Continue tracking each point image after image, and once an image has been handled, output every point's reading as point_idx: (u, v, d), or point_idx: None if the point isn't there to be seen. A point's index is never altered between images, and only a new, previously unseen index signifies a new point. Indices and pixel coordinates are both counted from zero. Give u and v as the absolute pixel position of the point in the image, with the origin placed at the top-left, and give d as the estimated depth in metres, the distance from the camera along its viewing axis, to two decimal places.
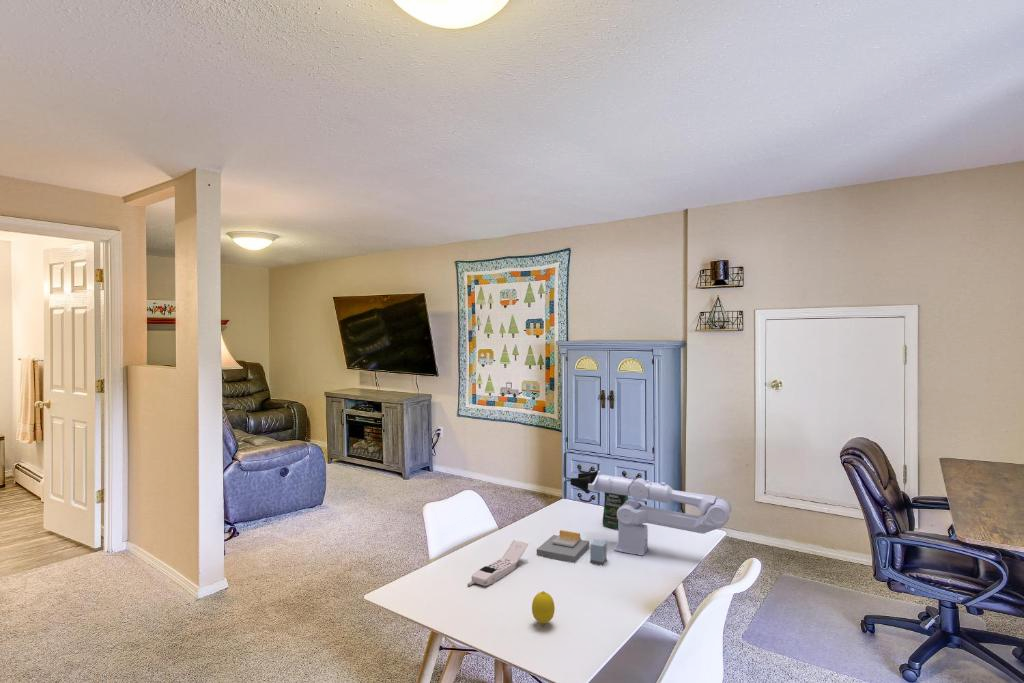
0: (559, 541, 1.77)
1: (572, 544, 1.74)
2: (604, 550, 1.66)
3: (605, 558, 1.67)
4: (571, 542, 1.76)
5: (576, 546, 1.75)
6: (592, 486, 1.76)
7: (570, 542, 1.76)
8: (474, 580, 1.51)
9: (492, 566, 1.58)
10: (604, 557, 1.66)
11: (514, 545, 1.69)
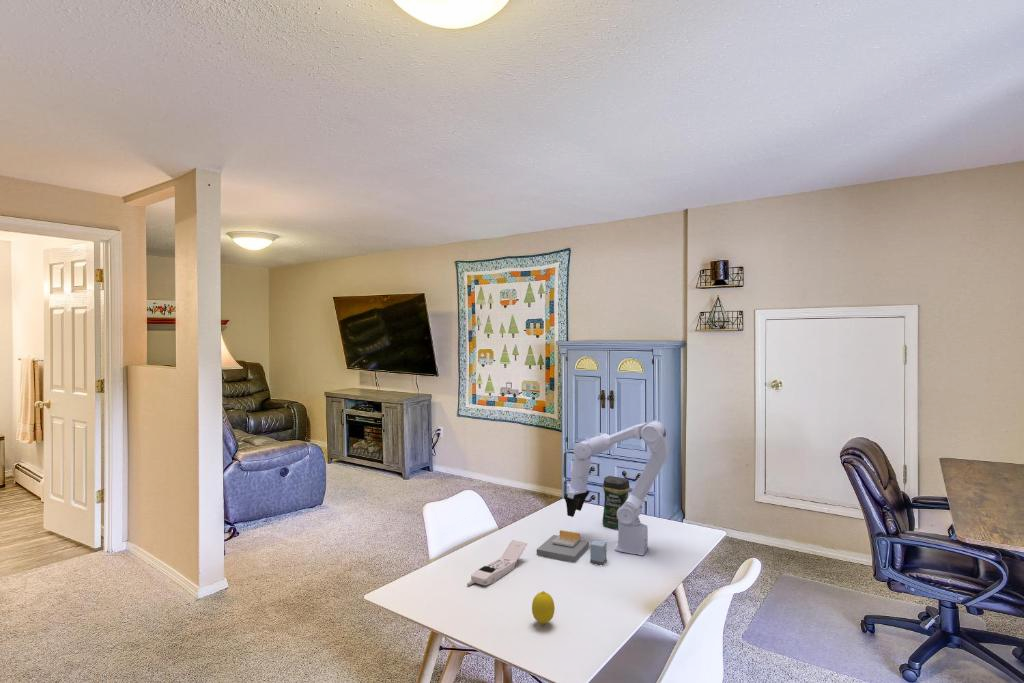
0: (559, 541, 1.77)
1: (572, 544, 1.74)
2: (604, 550, 1.66)
3: (605, 558, 1.67)
4: (571, 542, 1.76)
5: (576, 546, 1.75)
6: (569, 493, 1.80)
7: (570, 542, 1.76)
8: (474, 580, 1.51)
9: (491, 566, 1.58)
10: (604, 557, 1.66)
11: (513, 545, 1.69)
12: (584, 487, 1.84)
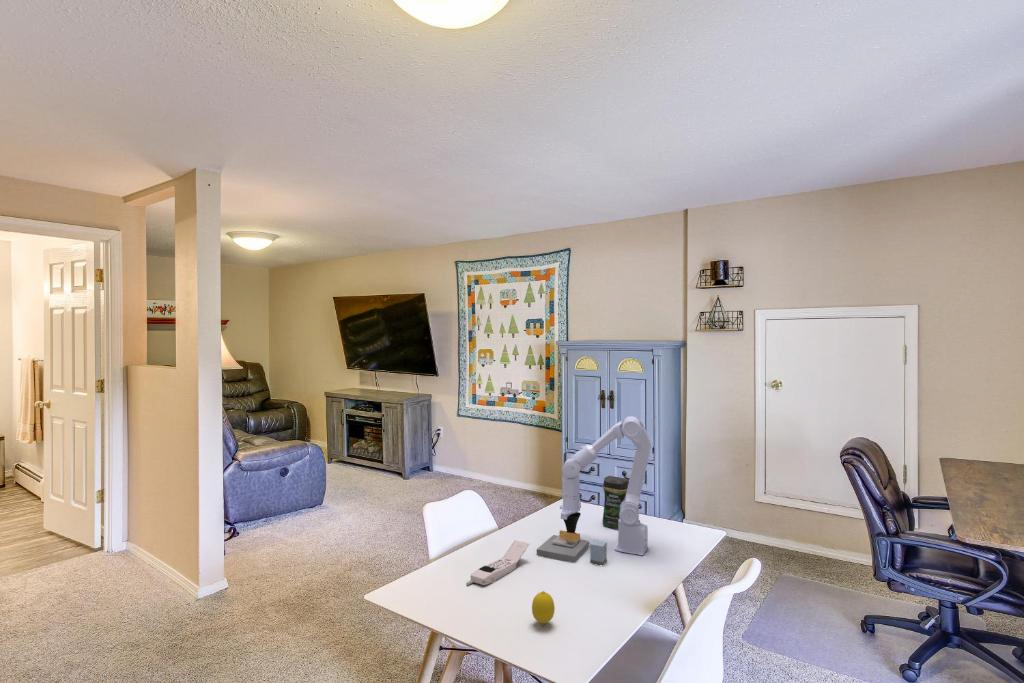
0: (559, 541, 1.76)
1: (572, 544, 1.74)
2: (604, 550, 1.66)
3: (605, 558, 1.67)
4: (571, 542, 1.76)
5: (576, 546, 1.75)
6: (562, 514, 1.76)
7: (569, 542, 1.76)
8: (473, 579, 1.51)
9: (492, 566, 1.58)
10: (604, 557, 1.66)
11: (515, 545, 1.69)
12: (577, 506, 1.80)
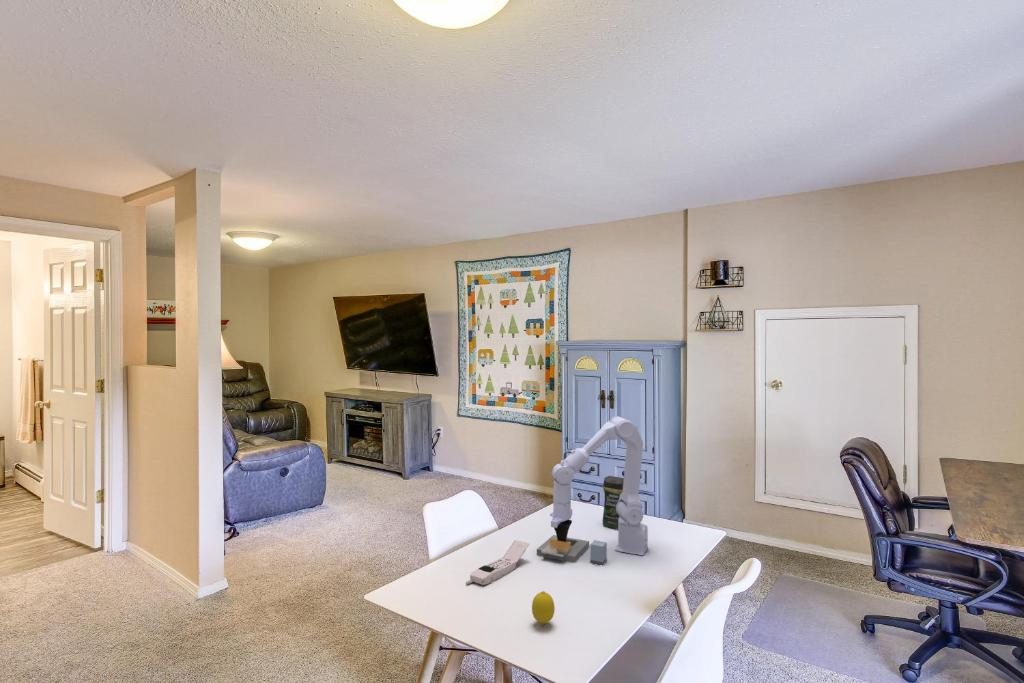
0: (549, 550, 1.69)
1: (562, 553, 1.66)
2: (604, 550, 1.66)
3: (605, 558, 1.67)
4: (561, 551, 1.68)
5: (576, 546, 1.75)
6: (552, 522, 1.68)
7: (560, 551, 1.68)
8: (472, 579, 1.52)
9: (492, 565, 1.58)
10: (604, 557, 1.66)
11: (515, 545, 1.69)
12: (568, 513, 1.72)
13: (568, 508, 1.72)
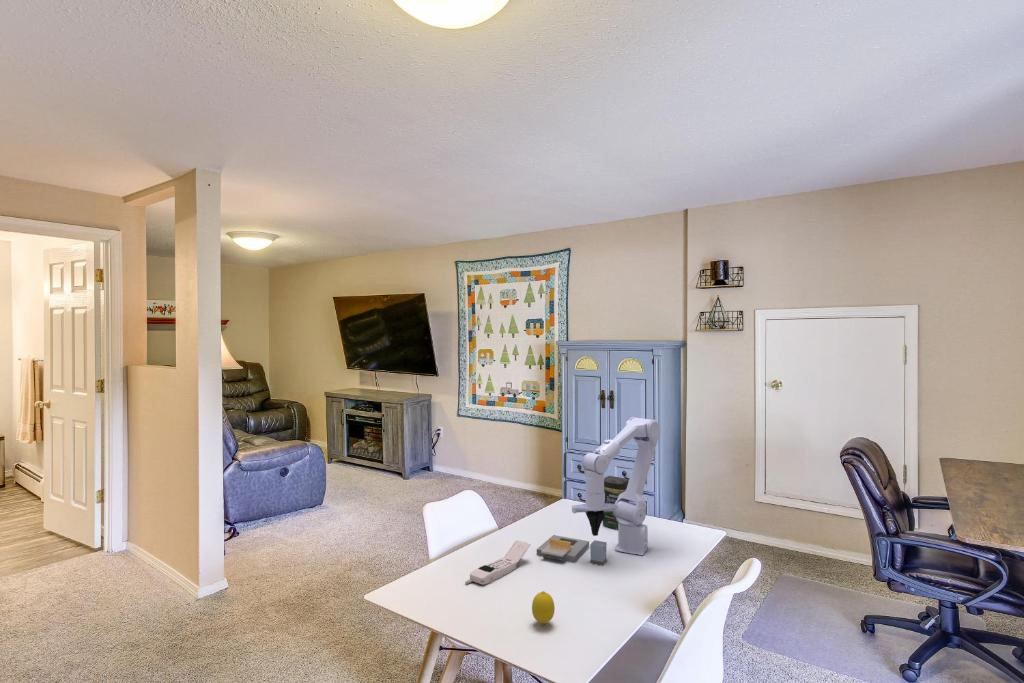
0: (549, 550, 1.69)
1: (562, 553, 1.66)
2: (604, 550, 1.66)
3: (605, 558, 1.67)
4: (561, 551, 1.68)
5: (576, 546, 1.75)
6: (572, 507, 1.67)
7: (560, 551, 1.68)
8: (472, 578, 1.52)
9: (492, 565, 1.58)
10: (604, 557, 1.66)
11: (516, 545, 1.69)
12: (593, 504, 1.65)
13: (594, 499, 1.65)
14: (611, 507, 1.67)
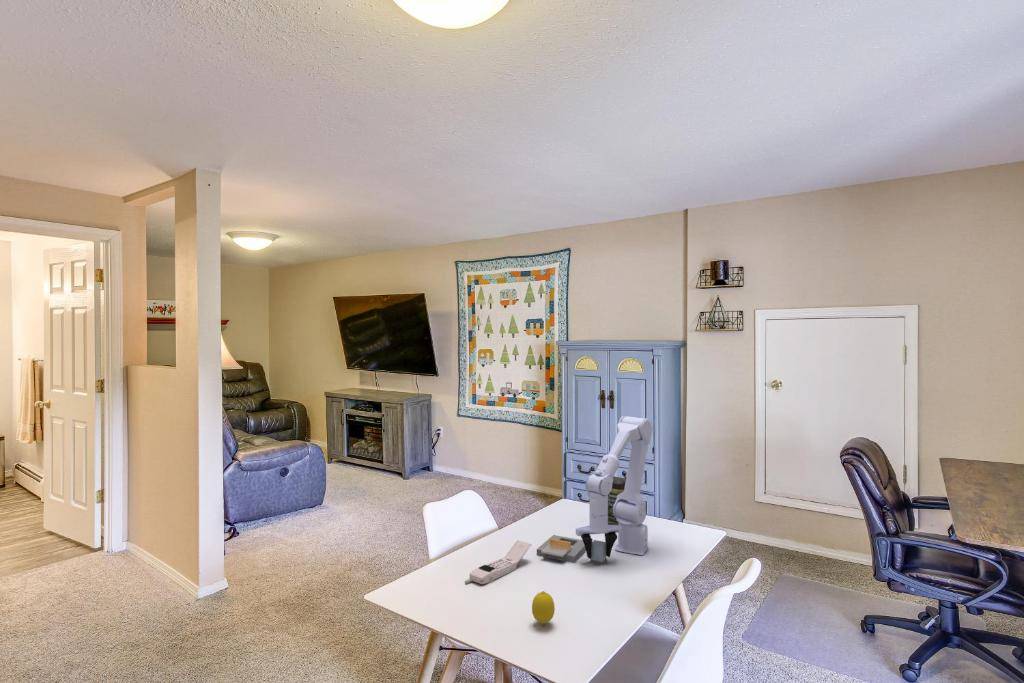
0: (549, 550, 1.69)
1: (562, 553, 1.66)
2: (604, 550, 1.66)
3: (605, 558, 1.67)
4: (561, 551, 1.68)
5: (576, 546, 1.75)
6: (576, 529, 1.66)
7: (560, 551, 1.68)
8: (472, 578, 1.52)
9: (492, 565, 1.59)
10: (604, 557, 1.66)
11: (517, 545, 1.69)
12: (598, 527, 1.64)
13: (598, 521, 1.64)
14: (615, 529, 1.67)
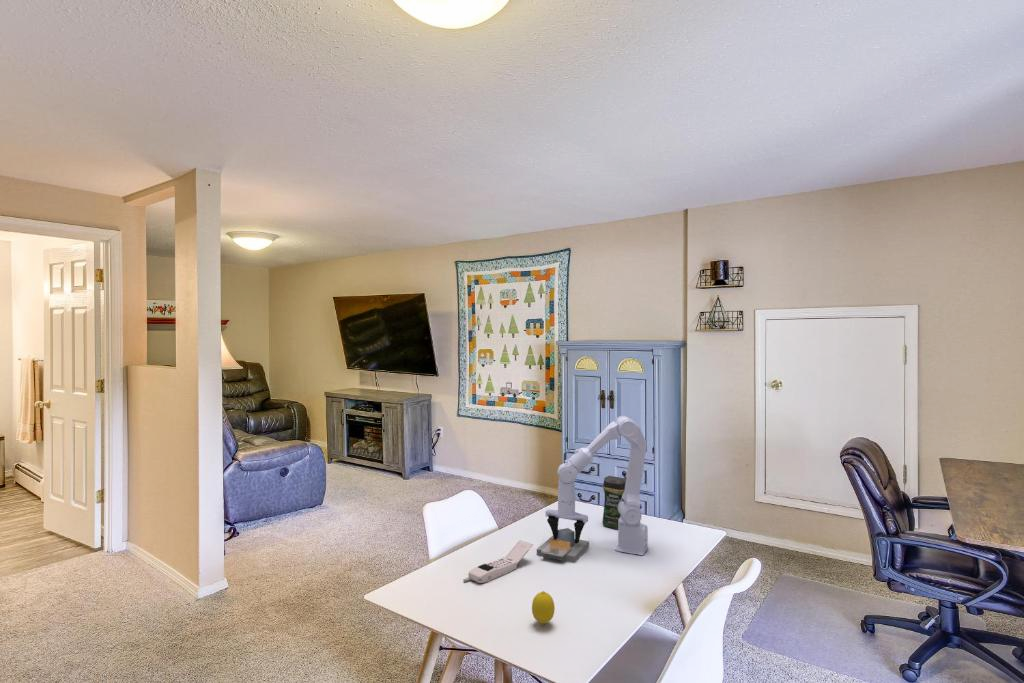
0: (549, 550, 1.69)
1: (562, 553, 1.66)
2: (568, 538, 1.76)
3: None
4: (561, 551, 1.68)
5: (576, 546, 1.75)
6: None
7: (560, 551, 1.68)
8: (470, 576, 1.53)
9: (492, 564, 1.59)
10: None
11: (519, 545, 1.69)
12: (560, 511, 1.76)
13: (560, 506, 1.76)
14: (579, 517, 1.75)
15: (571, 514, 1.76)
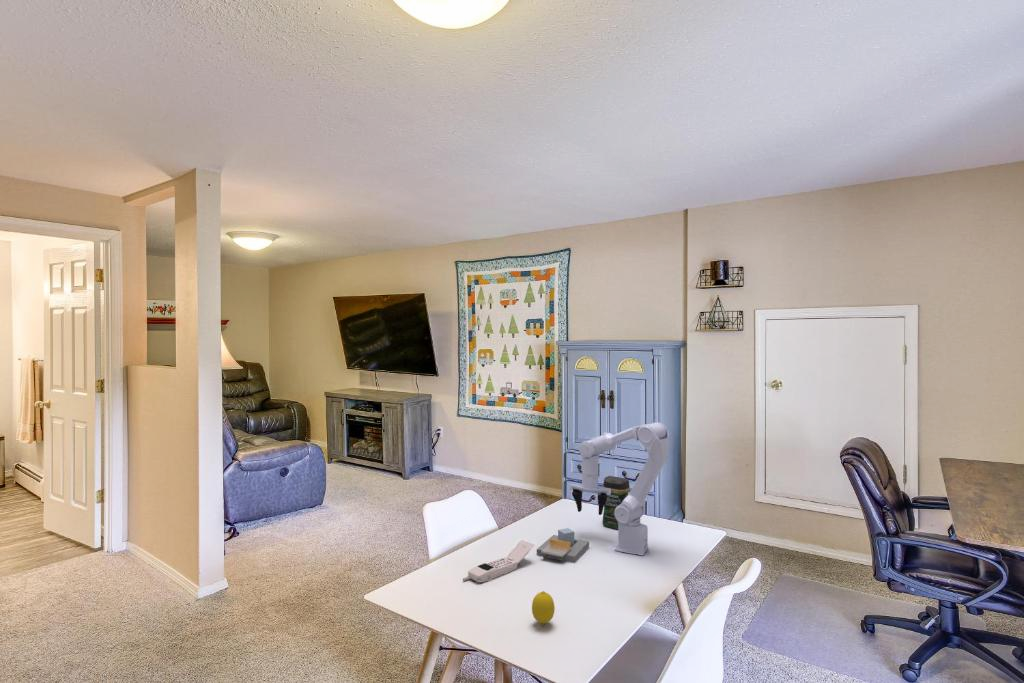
0: (549, 550, 1.69)
1: (562, 553, 1.66)
2: (568, 538, 1.76)
3: None
4: (561, 551, 1.68)
5: (576, 546, 1.75)
6: None
7: (560, 551, 1.68)
8: (470, 576, 1.54)
9: (492, 564, 1.59)
10: None
11: (521, 545, 1.68)
12: (584, 485, 1.86)
13: (585, 480, 1.86)
14: (602, 490, 1.85)
15: (595, 487, 1.86)
